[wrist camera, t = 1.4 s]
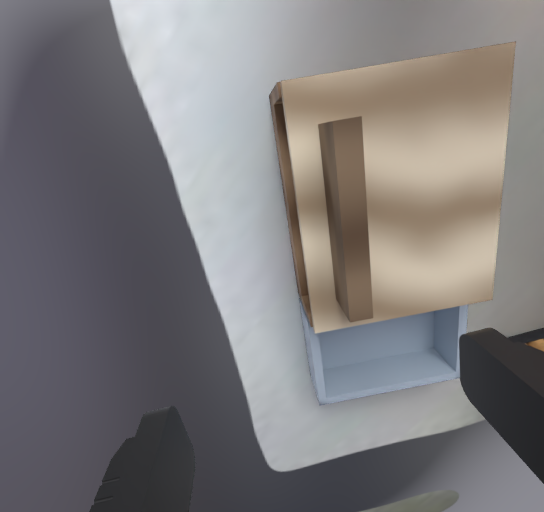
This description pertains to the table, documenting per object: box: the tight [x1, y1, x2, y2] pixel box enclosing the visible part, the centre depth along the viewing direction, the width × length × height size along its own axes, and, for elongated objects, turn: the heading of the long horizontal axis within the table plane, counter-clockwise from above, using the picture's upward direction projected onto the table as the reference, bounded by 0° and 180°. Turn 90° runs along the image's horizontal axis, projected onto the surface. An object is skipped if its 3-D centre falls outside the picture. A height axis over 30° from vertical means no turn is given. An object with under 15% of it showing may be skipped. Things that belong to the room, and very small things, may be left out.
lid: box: [280, 42, 516, 333], centre depth 19 cm, size 16×13×4 cm
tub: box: [299, 298, 468, 405], centre depth 28 cm, size 9×13×4 cm, turn 100°
